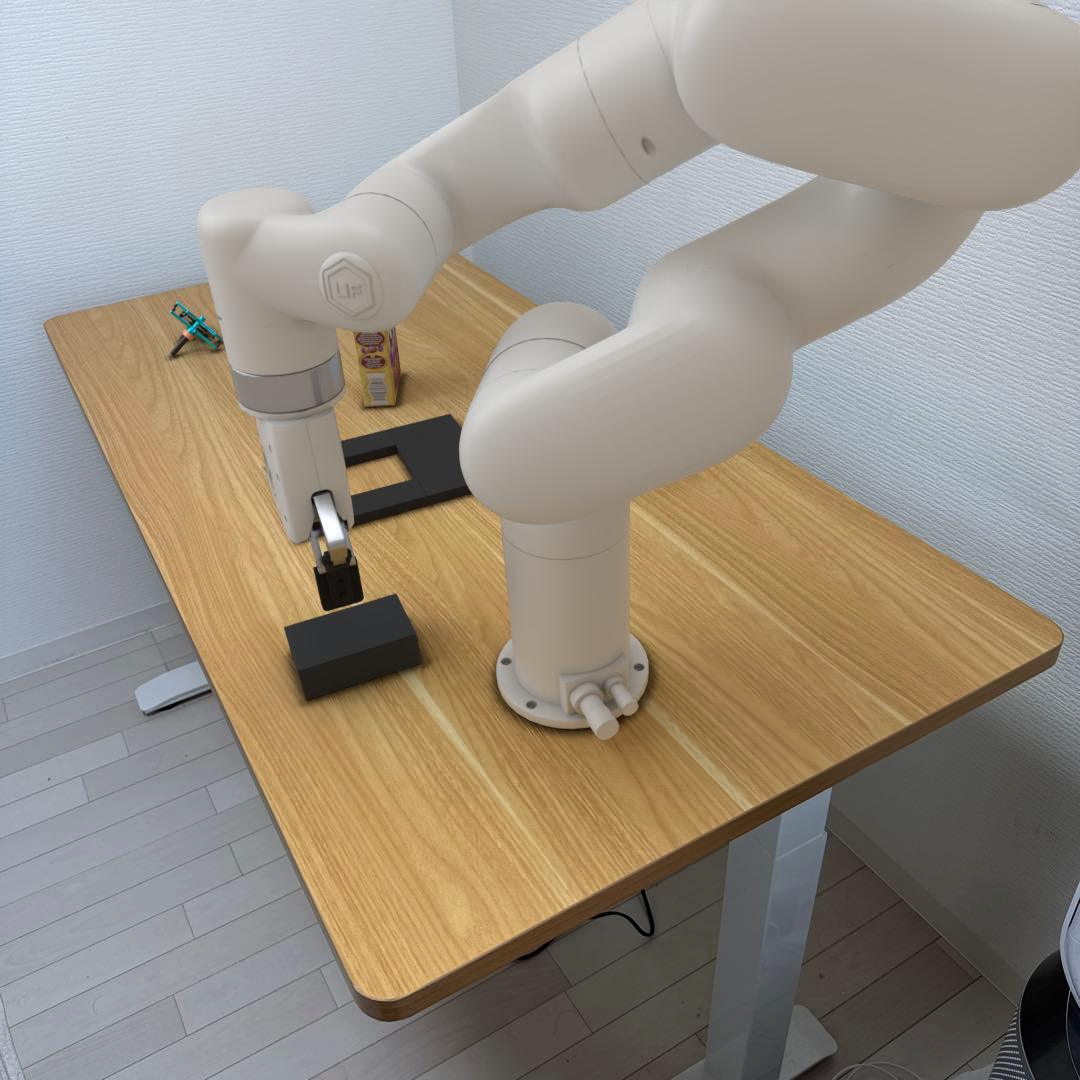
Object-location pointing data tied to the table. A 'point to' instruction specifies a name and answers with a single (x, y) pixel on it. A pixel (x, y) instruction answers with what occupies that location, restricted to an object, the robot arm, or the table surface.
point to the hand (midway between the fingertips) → (328, 569)
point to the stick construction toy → (192, 329)
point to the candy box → (378, 366)
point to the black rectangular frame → (410, 467)
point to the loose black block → (352, 646)
